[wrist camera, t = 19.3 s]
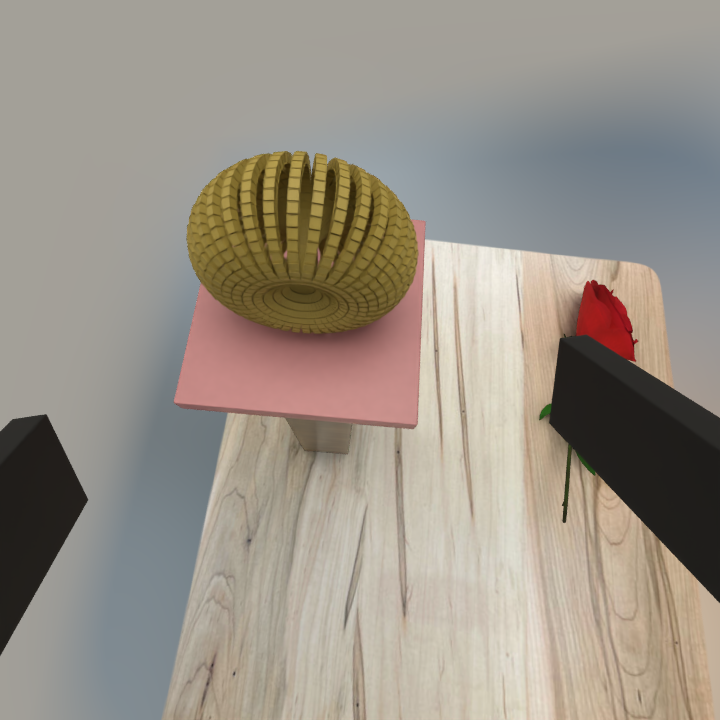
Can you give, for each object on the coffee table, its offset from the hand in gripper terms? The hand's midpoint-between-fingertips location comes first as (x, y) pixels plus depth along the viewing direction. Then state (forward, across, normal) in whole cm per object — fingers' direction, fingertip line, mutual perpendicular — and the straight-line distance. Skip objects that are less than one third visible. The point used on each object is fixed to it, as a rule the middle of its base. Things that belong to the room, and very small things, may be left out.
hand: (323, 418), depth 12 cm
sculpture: (+9, 0, 0) cm, 9 cm away
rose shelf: (+10, 0, 0) cm, 10 cm away
